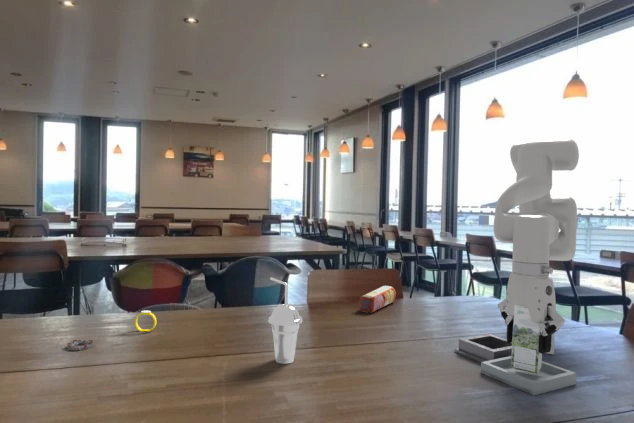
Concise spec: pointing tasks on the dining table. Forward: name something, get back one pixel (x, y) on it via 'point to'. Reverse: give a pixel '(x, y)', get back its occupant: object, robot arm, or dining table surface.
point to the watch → (145, 312)
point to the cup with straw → (284, 329)
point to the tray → (529, 376)
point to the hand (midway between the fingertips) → (527, 346)
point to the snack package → (377, 299)
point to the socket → (484, 347)
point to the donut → (80, 345)
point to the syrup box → (525, 342)
